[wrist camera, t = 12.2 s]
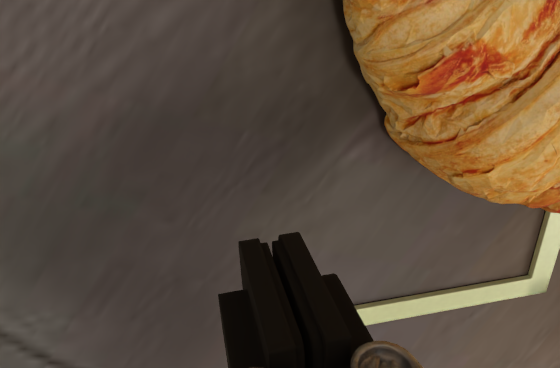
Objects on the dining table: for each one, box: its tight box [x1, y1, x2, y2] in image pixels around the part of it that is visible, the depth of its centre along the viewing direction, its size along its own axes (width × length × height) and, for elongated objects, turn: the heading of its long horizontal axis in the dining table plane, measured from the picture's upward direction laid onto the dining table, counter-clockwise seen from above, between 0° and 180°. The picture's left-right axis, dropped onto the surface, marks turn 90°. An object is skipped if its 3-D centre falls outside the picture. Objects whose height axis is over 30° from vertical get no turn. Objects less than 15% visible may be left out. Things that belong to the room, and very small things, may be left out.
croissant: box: [343, 0, 560, 213], centre depth 20 cm, size 21×10×8 cm
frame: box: [354, 211, 560, 325], centre depth 23 cm, size 17×28×1 cm, turn 3°
